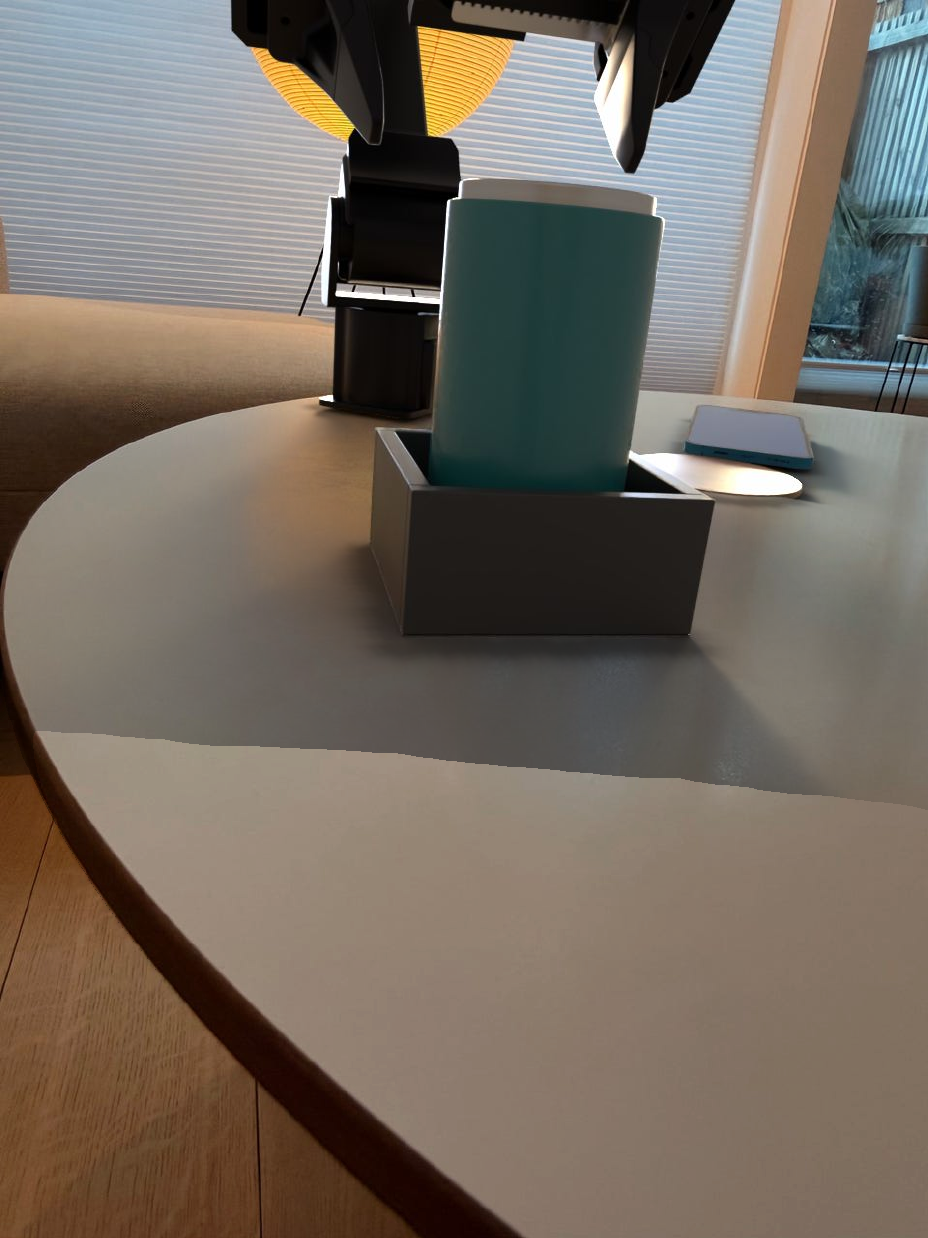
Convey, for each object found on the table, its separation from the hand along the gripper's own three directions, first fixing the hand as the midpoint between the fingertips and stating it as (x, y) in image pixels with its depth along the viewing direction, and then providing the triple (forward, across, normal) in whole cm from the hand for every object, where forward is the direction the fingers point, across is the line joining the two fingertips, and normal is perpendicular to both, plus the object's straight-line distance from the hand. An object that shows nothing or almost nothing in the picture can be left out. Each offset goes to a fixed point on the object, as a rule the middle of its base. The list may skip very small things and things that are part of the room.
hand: (509, 148), depth 32 cm
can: (+15, 0, +4) cm, 15 cm away
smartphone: (-4, +22, +24) cm, 33 cm away
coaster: (+3, +15, +16) cm, 22 cm away
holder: (+15, 0, +4) cm, 16 cm away
